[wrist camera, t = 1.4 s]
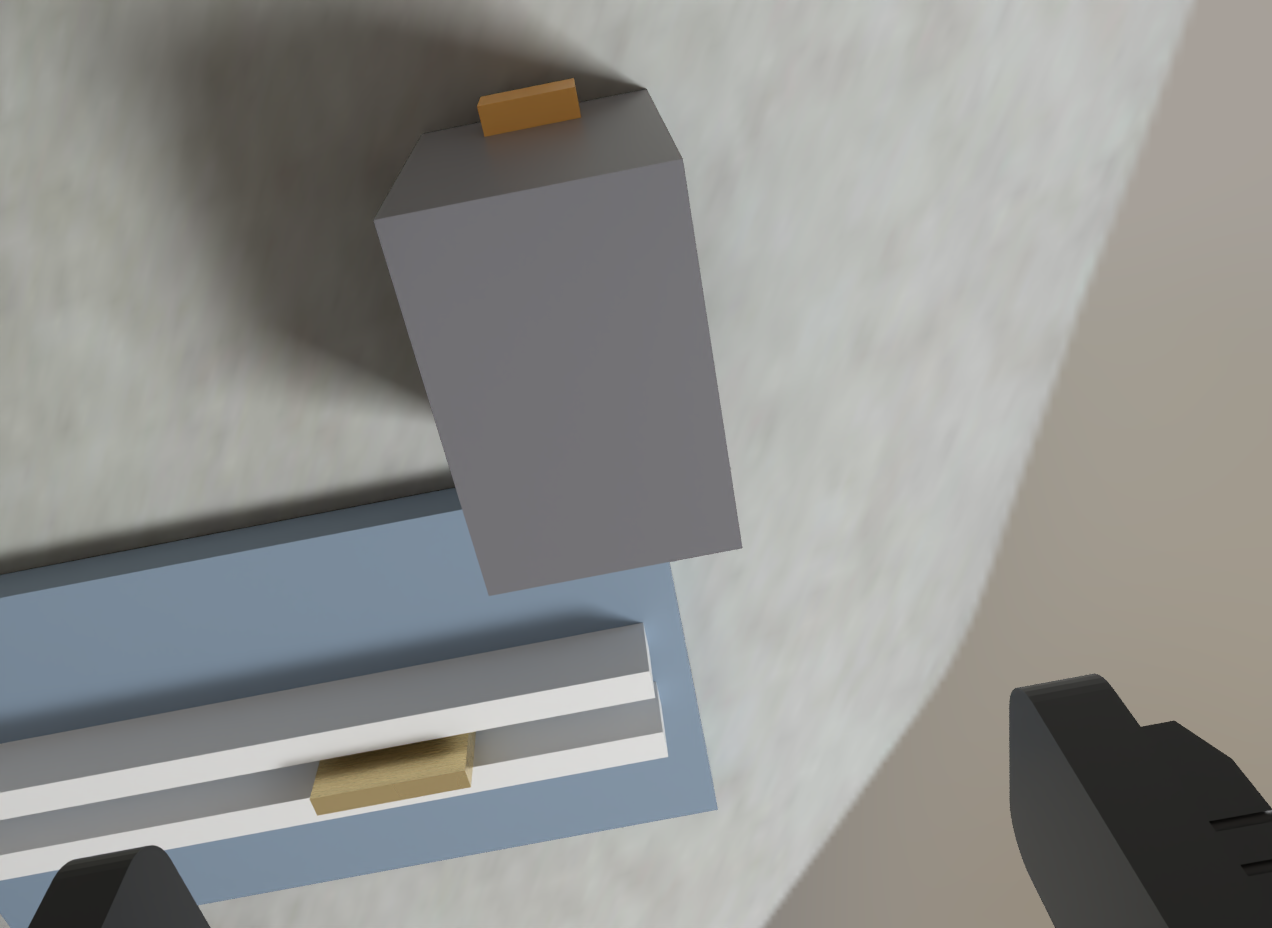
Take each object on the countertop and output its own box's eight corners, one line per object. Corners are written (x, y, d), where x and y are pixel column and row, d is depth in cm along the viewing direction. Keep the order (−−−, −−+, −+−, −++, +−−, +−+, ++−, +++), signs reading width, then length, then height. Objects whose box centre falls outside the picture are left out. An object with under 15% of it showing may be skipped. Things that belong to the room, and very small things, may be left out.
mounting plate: (-174, 608, 27) (-257, 689, 24) (647, 450, 27) (658, 515, 24) (35, 905, 33) (-14, 998, 30) (712, 780, 32) (727, 863, 30)
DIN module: (414, 105, 22) (361, 183, 16) (641, 60, 22) (676, 120, 16) (503, 433, 26) (489, 595, 20) (697, 395, 26) (742, 547, 20)
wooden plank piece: (324, 742, 28) (309, 798, 26) (470, 715, 28) (464, 770, 26) (332, 758, 28) (317, 815, 26) (476, 731, 28) (470, 787, 26)
